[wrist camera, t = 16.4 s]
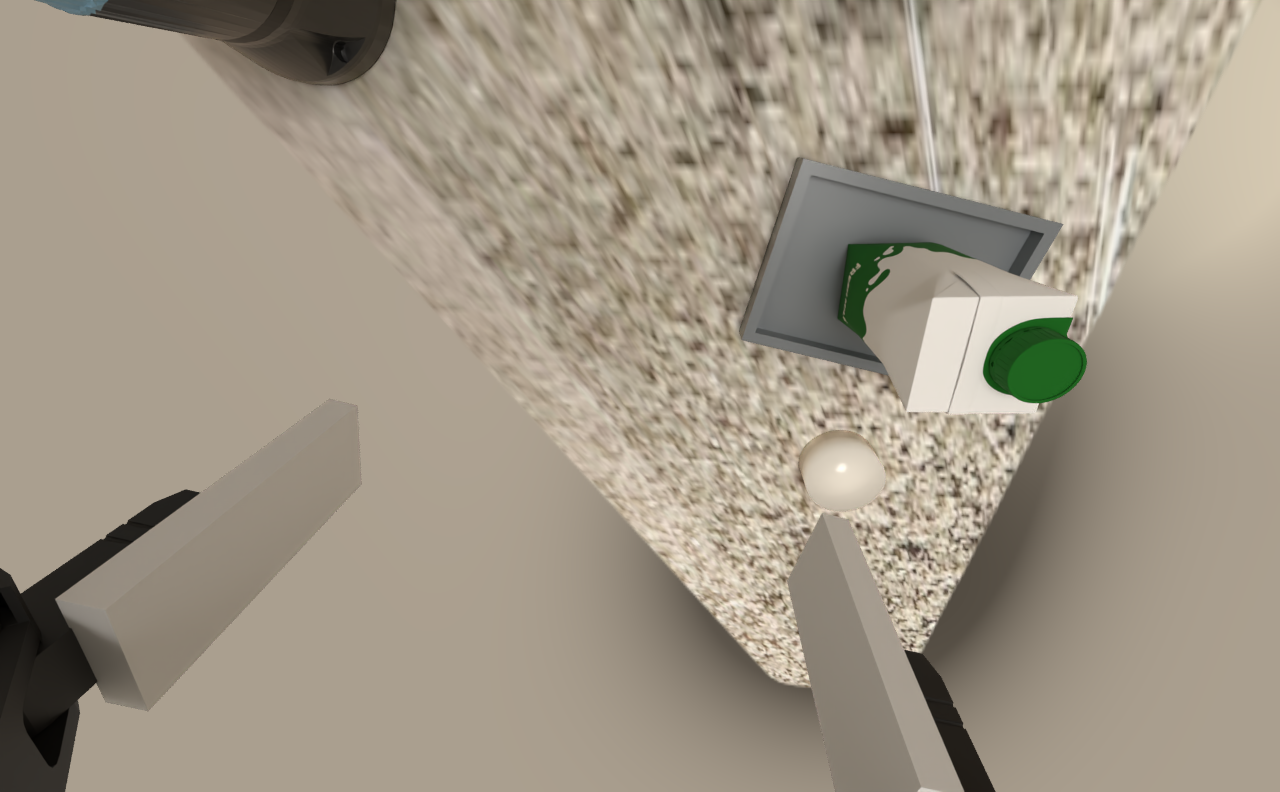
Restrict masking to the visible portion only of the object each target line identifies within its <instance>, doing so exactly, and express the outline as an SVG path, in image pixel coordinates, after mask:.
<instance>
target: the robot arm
mask: <svg viewBox="0 0 1280 792" xmlns="http://www.w3.org/2000/svg"><path fill="white" fill-rule="evenodd" d="M36 1H40V2H43V3H47V4H48V5H50V6H52V7H54V8H56V9H59V10H63V11H65V12H68V13H70V14H75V15H83V16H84V15H90V16H95V17H100V18H105V19H110V20H115V21H121V22H126V23H132V24H137V25H142V26H147V27H152V28H158V29H164V30H168V31H173V32H179V33H184V34H189V35H195V36H200V37H205V38H211V39H216V40H221V41H223V42H224V43H226V44H227V45H229V46H230V47H232V48H233V49H235V50H236V51H238V52H239V53H241V54H243V55H244V56H246V57H247V58H249V59H250V60H252V61H253V62H255V63H256V64H258V65H260V66H261V67H263V68H265V69H266V70H268V71H270V72H272V73H275V74H277V75H279V76H282V77H285V78H287V79H291V80H294V81H299V82H305V83H311V84H319V85H335V84H341V83H345V82H348V81H351V80H353V79H355V78H357V77H358V76H360V75H362V74H363V73H364V72H366V71H367V70H368V69H369V68H370V67H371V66H372V65H373V64H374V63H375V62H376V60H377V59H378V57H379V56H380V54H381V53H382V51H383V49H384V47H385V45H386V43H387V40H388V37H389V34H390V31H391V27H392V23H393V17H394V7H395V0H36ZM361 484H362V481H361V463H360V445H359V427H358V408H357V405H354V404H349V403H345V402H341V401H336V400H332V399H329V400H327V401H326V402H324V403H323V404H322V405H320V406H319V407H318V408H316V409H315V410H314V411H312V412H311V413H309V414H308V415H307V416H305V417H304V418H303V419H301V420H300V421H298V422H297V423H296V424H294V425H293V426H292V427H290V428H289V429H287V430H286V431H285V432H283V433H282V434H281V435H279V436H278V437H277V438H275V439H274V440H272V441H271V442H270V443H268V444H267V445H266V446H264V447H263V448H261V449H260V450H259V451H257V452H256V453H255V454H253V455H252V456H250V457H249V458H248V459H247V460H245V461H244V462H242V463H241V464H240V465H238V466H237V467H235V468H234V469H233V470H231V471H230V472H229V473H227V474H226V475H224V476H223V477H222V478H220V479H219V480H218V481H216V482H215V483H213V484H212V485H211V486H209V487H208V488H207V489H205V490H204V491H203V492H201V493H199V492H195V491H190V490H183V491H181V492H179V493H176V494H174V495H171V496H169V497H166V498H164V499H161V500H159V501H157V502H154V503H153V504H151V505H150V506H148V507H147V508H145V509H144V510H143V511H141V512H140V513H138V514H137V515H136V516H134V517H132V518H131V519H129V520H128V522H127V524H125V525H124V524H122V525H121V526H119V527H118V528H116V529H115V530H113V531H112V532H110V533H109V534H107V535H106V538H105V539H103V540H102V539H100V540H99V541H97V542H96V543H94V544H93V545H92V546H90V547H88V548H87V549H86V550H84V551H82V552H81V553H80V554H78V555H77V556H75V557H74V558H72V559H71V560H69V561H68V562H66V563H65V564H63V565H62V566H61V567H59V568H58V569H56V570H55V571H53V572H52V573H51V574H49V575H47V576H46V577H45V578H43V579H42V580H40V581H39V582H37V583H36V584H34V585H33V586H31V587H30V588H29V589H27V590H26V591H24V592H23V593H21V594H20V592H19V590H18V588H17V587H16V585H15V583H14V581H13V579H12V577H11V575H10V574H8V573H7V572H5V571H4V570H2V569H1V568H0V792H65V789H66V783H67V778H68V773H69V768H70V762H71V757H72V752H73V747H74V741H75V736H76V731H77V725H78V720H79V715H80V710H79V704H78V701H77V700H78V699H79V698H80V697H81V696H82V695H83V694H85V693H86V692H87V691H88V690H89V689H90V688H91V687H92V686H93V685H94V684H95V683H97V686H98V687H99V690H100V691H101V694H102V695H103V698H104V700H105V702H107V703H112V704H117V705H121V706H126V707H131V708H136V709H141V710H145V711H149V710H150V709H151V708H152V707H153V706H154V705H155V704H156V703H157V701H158V700H159V699H160V698H161V697H162V696H163V695H164V694H165V693H166V692H167V691H168V690H169V689H170V688H171V686H173V684H174V683H175V682H176V681H177V680H178V679H179V678H180V677H181V676H182V675H183V674H184V673H185V672H186V671H187V670H188V668H189V667H190V666H191V665H192V664H193V663H194V662H195V661H196V660H197V659H198V658H199V657H200V656H201V655H202V654H203V653H204V651H205V650H206V649H207V648H208V647H209V646H210V645H211V644H212V643H213V642H214V641H215V640H216V639H217V638H218V637H219V636H220V634H221V633H222V632H223V631H224V630H225V629H226V628H227V627H228V626H229V625H230V624H231V623H232V622H233V621H234V620H235V619H236V617H237V616H238V615H239V614H240V613H241V612H242V611H243V610H244V609H245V608H246V607H247V606H248V604H250V602H251V601H252V600H253V599H254V598H255V597H256V596H257V595H258V594H259V593H260V592H261V591H262V590H263V589H264V588H265V586H266V585H267V584H268V583H269V582H270V581H271V580H272V579H273V578H274V577H275V576H276V575H277V574H278V572H280V571H281V570H282V568H283V567H284V566H285V565H286V564H287V563H288V562H289V561H290V560H291V559H292V558H293V557H294V556H295V555H296V554H297V552H298V551H299V550H300V549H301V548H302V547H303V546H304V545H305V544H306V543H307V542H308V541H309V540H310V539H311V538H312V536H313V535H314V534H315V533H316V532H317V531H318V530H319V529H320V528H321V527H322V526H323V525H324V524H325V523H326V522H327V521H328V519H329V518H330V517H331V516H332V515H333V514H334V513H335V512H336V511H337V510H338V509H339V508H340V507H341V506H342V505H343V503H344V502H345V501H346V500H347V499H348V498H349V497H350V496H351V495H352V494H353V493H354V492H355V491H356V490H357V489H358V488H359V486H360V485H361ZM787 582H788V587H789V591H790V596H791V600H792V604H793V609H794V613H795V618H796V622H797V626H798V631H799V635H800V640H801V644H802V648H803V653H804V657H805V662H806V666H807V670H808V675H809V679H810V683H811V688H812V692H813V697H814V701H815V705H816V710H817V714H818V718H819V723H820V727H821V732H822V736H823V741H824V745H825V749H826V754H827V758H828V763H829V767H830V771H831V776H832V779H833V784H834V789H835V792H995V790H994V788H993V785H992V783H991V781H990V779H989V777H988V775H987V773H986V771H985V769H984V766H983V764H982V762H981V760H980V758H979V756H978V754H977V752H976V750H975V748H974V745H973V743H972V741H971V739H970V737H969V735H968V733H967V731H966V729H964V728H963V722H962V720H961V718H960V716H959V714H958V712H957V709H956V708H954V707H953V701H952V699H951V697H950V695H949V692H948V690H947V688H946V686H945V684H944V682H943V680H942V678H941V676H940V675H939V674H938V673H937V671H936V670H935V669H934V668H933V667H932V665H931V664H930V663H929V661H928V660H927V659H926V658H925V656H924V655H923V654H921V653H916V652H912V651H908V650H904V649H903V646H902V644H901V642H900V639H899V637H898V635H897V632H896V630H895V628H894V625H893V623H892V621H891V618H890V616H889V614H888V611H887V609H886V606H885V604H884V602H883V599H882V597H881V595H880V592H879V590H878V588H877V585H876V583H875V581H874V578H873V576H872V574H871V571H870V569H869V566H868V564H867V562H866V559H865V557H864V555H863V552H862V550H861V548H860V545H859V543H858V541H857V538H856V536H855V534H854V531H853V529H852V527H851V524H850V522H849V519H845V518H841V517H836V516H832V515H828V514H823V513H822V514H821V516H820V518H819V520H818V522H817V524H816V526H815V528H814V530H813V532H812V534H811V536H810V538H809V540H808V541H807V543H806V545H805V547H804V549H803V551H802V553H801V555H800V557H799V559H798V561H797V563H796V565H795V567H794V569H793V571H792V573H791V574H790V576H789V578H788V580H787Z"/></svg>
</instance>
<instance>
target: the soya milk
mask: <svg viewBox="0 0 1280 792" xmlns="http://www.w3.org/2000/svg"><path fill="white" fill-rule="evenodd" d="M1077 299H1078V296H1076V295H1073V294H1070V293H1067V292H1064V291H1061V290H1058V289H1055V288H1052V287H1049V286H1046V285H1043V284H1040V283H1037V282H1034V281H1031V280H1028V279H1025V278H1022V277H1019V276H1017V275H1014V274H1011V273H1008V272H1006V271H1003V270H1001V269H999V268H996V267H994V266H992V265H989V264H987V263H984V262H982V261H980V260H977V259H975V258H972V257H970V256H968V255H965V254H963V253H960V252H958V251H956V250H953V249H951V248H948V247H946V246H943V245H941V244H937V243H932V242H921V243H878V244H848V250H847V257H846V264H845V270H844V277H843V284H842V290H841V297H840V304H839V311H838V317H837V319H838V320H840V321H841V322H842V323H843V324H845V325H846V326H847V327H848V328H850V329H851V330H852V331H854V332H855V333H856V334H857V335H858V336H859V337H860V338H861V339H862V340H863V341H864V342H865V344H866V345H867V346H868V347H869V348H870V349H871V350H872V352H873V353H874V354H875V355H876V356H877V357H878V358H879V360H880V361H881V362H882V363H883V365H884V366H885V368H886V370H887V372H888V375H889V377H890V379H891V381H892V383H893V385H894V387H895V389H896V391H897V393H898V395H899V397H900V399H901V402H902V404H903V406H904V408H905V410H906V412H945V413H947V414H955V415H962V414H1013V413H1035V412H1036V410H1037V408H1038V405H1039V403H1044V402H1049V401H1052V400H1055V399H1057V398H1059V397H1061V396H1063V395H1064V394H1066V393H1067V392H1069V391H1070V390H1071V389H1072V388H1074V387H1075V386H1076V385H1077V383H1078V382H1079V381H1080V380H1081V378H1082V376H1083V374H1084V372H1085V369H1086V365H1087V359H1086V354H1085V352H1084V350H1083V349H1082V348H1081V346H1080V345H1079V344H1077V343H1075V342H1074V341H1073V340H1071V339H1069V338H1068V337H1067V332H1068V330H1069V327H1070V325H1071V322H1072V320H1073V318H1071V315H1072V312H1073V310H1074V308H1075V305H1076V302H1077Z"/></svg>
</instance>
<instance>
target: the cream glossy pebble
mask: <svg viewBox="0 0 1280 792" xmlns="http://www.w3.org/2000/svg"><path fill="white" fill-rule="evenodd" d="M799 468H800V472H801V475H802V478H803V480H804V483H805V486H806V489H807V492H808V494H809V496H810V498H811V499H812V500H813V501H814V502H815V503H816V504H817V505H818V506H820V507H822V508H824V509H827V510H830V511H837V512H846V511H852V510H856V509H859V508H862V507H864V506H866V505H868V504H869V503H871V502H872V501H873V500H875V499H876V498H877V497H878V495H879V494H880V493H881V491H882V490H883V488H884V485H885V481H886V473H885V469H884V467H883V465H882V464H881V462H880V460H879V459H878V457H877V455H876V454H875V452H874V450H873V449H872V447H871V445H870V444H869V442H868V441H867V440H866V439H865V438H864V437H862V436H861V435H859V434H857V433H855V432H851V431H846V430H835V431H829V432H826V433H823V434H821V435H819V436H817V437H815V438H814V439H812V440H811V441H810V442H809V443H808V444H807V445H806V446H805V447H804V449H803V450H802V452H801V455H800V458H799Z"/></svg>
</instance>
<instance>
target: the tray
mask: <svg viewBox="0 0 1280 792" xmlns="http://www.w3.org/2000/svg"><path fill="white" fill-rule="evenodd" d="M1062 226H1063V224H1061V223H1057V222H1053V221H1049V220H1045V219H1041V218H1037V217H1033V216H1029V215H1025V214H1021V213H1017V212H1013V211H1009V210H1005V209H1001V208H997V207H993V206H990V205H986V204H982V203H978V202H974V201H970V200H966V199H962V198H958V197H954V196H950V195H946V194H942V193H938V192H934V191H930V190H926V189H922V188H918V187H914V186H910V185H906V184H902V183H898V182H895V181H891V180H887V179H883V178H879V177H875V176H871V175H867V174H863V173H859V172H855V171H851V170H847V169H843V168H839V167H835V166H831V165H827V164H823V163H819V162H815V161H811V160H807V159H803V158H797V161H796V164H795V166H794V169H793V172H792V175H791V178H790V181H789V184H788V187H787V190H786V193H785V196H784V199H783V202H782V205H781V208H780V211H779V214H778V217H777V220H776V223H775V226H774V229H773V232H772V235H771V238H770V241H769V244H768V247H767V250H766V253H765V256H764V259H763V262H762V265H761V268H760V271H759V274H758V277H757V280H756V283H755V286H754V289H753V291H752V294H751V297H750V300H749V303H748V306H747V309H746V312H745V315H744V318H743V321H742V324H741V327H740V330H739V332H740V336H741V339H742V340H744V341H748V342H752V343H756V344H761V345H765V346H769V347H773V348H777V349H781V350H785V351H790V352H794V353H798V354H802V355H806V356H810V357H814V358H819V359H823V360H827V361H831V362H835V363H839V364H844V365H848V366H852V367H856V368H860V369H864V370H868V371H873V372H877V373H881V374H885V375H888V372H887V370H886V368H885V366H884V365H883V363H882V362H881V361H880V360H879V358H878V357H877V356H876V355H875V354H874V353H873V352H872V350H871V349H870V348H869V347H868V346H867V345H866V344H865V342H864V341H863V340H862V339H861V338H860V337H859V336H858V335H857V334H856V333H855V332H854V331H852V330H851V329H850V328H848V327H847V326H846V325H845V324H843V323H842V322H841V321H840V320H838V319H837V317H838V311H839V304H840V297H841V290H842V284H843V277H844V270H845V264H846V257H847V250H848V244H878V243H921V242H932V243H937V244H941V245H943V246H946V247H948V248H951V249H953V250H956V251H958V252H960V253H963V254H965V255H968V256H970V257H972V258H975V259H977V260H980V261H982V262H984V263H987V264H989V265H992V266H994V267H996V268H999V269H1001V270H1003V271H1006V272H1008V273H1011V274H1014V275H1017V276H1019V277H1022V278H1025V279H1028V280H1030V279H1031V277H1032V276H1033V274H1034V272H1035V271H1036V269H1037V267H1038V266H1039V264H1040V262H1041V261H1042V259H1043V257H1044V256H1045V254H1046V252H1047V251H1048V249H1049V247H1050V246H1051V244H1052V242H1053V241H1054V239H1055V237H1056V236H1057V234H1058V232H1059V231H1060V229H1061V227H1062Z"/></svg>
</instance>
